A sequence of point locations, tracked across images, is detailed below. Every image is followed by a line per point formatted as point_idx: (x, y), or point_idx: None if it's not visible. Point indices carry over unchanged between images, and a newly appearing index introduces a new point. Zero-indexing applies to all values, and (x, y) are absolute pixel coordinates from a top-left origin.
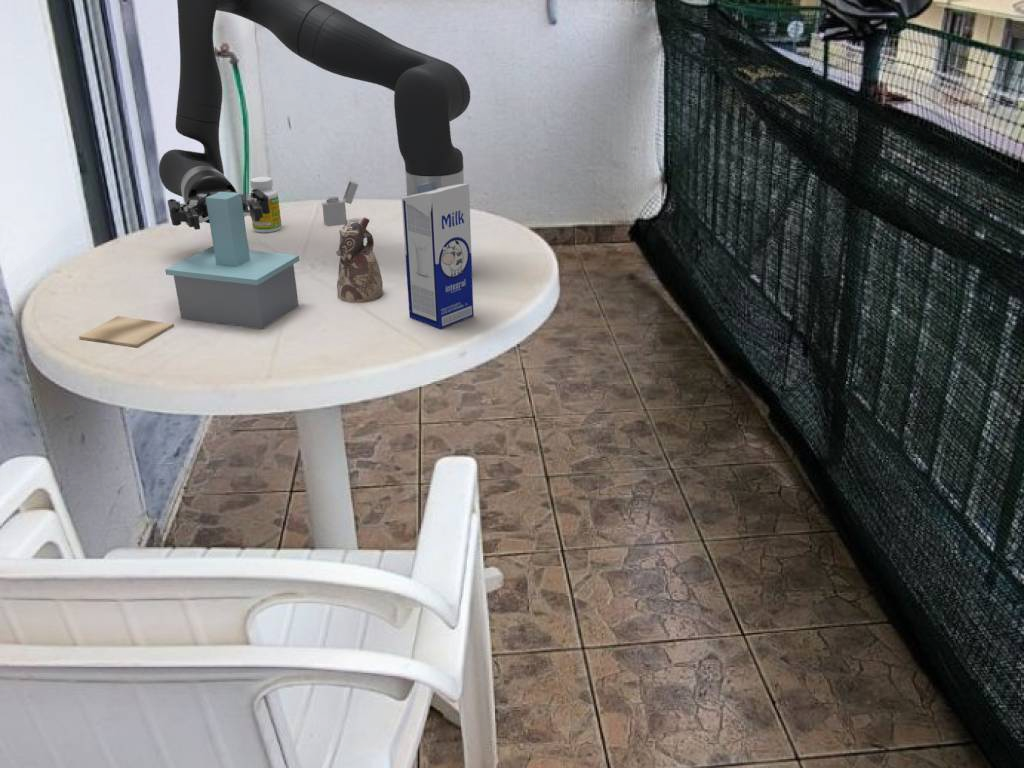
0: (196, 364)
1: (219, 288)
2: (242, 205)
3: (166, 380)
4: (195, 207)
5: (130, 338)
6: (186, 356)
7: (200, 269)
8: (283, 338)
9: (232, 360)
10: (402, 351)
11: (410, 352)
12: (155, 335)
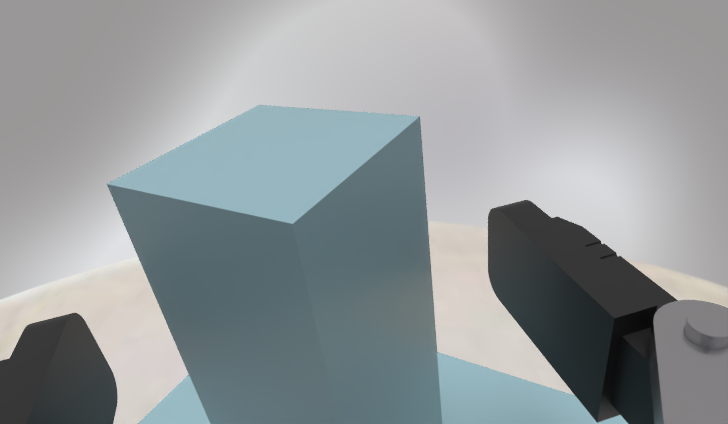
0: (445, 281)
1: None
2: (148, 278)
3: (482, 240)
4: (657, 409)
5: None
6: (479, 310)
7: (509, 416)
8: None
9: None
10: (59, 304)
11: (49, 300)
12: None
